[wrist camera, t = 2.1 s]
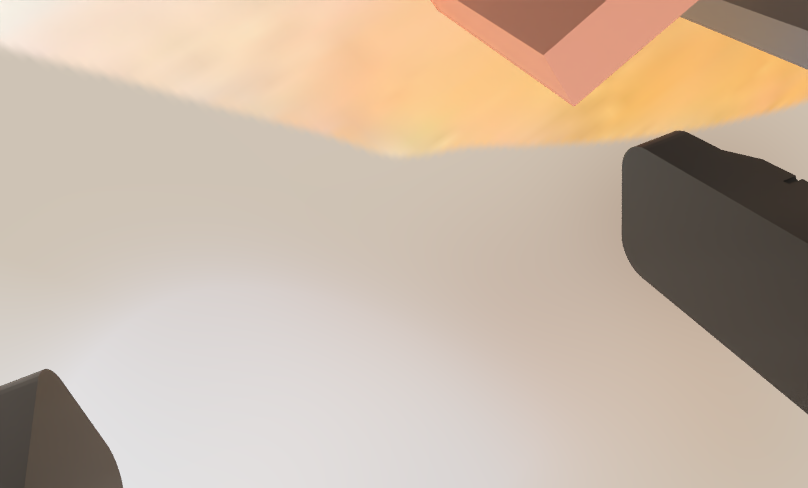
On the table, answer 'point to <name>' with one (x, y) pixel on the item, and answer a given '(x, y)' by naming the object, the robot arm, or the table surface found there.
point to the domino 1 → (565, 35)
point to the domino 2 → (759, 24)
